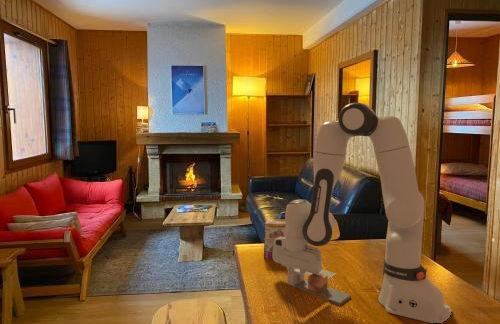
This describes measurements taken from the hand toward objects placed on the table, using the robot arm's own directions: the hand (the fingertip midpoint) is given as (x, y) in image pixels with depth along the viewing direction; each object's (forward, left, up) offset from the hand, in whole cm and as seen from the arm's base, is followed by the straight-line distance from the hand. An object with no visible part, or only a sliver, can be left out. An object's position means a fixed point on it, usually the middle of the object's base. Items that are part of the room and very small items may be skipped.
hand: (296, 278), depth 146 cm
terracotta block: (-9, 0, -1) cm, 10 cm away
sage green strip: (+3, -13, -2) cm, 14 cm away
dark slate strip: (-9, 0, -2) cm, 10 cm away
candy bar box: (+22, -17, -3) cm, 28 cm away
